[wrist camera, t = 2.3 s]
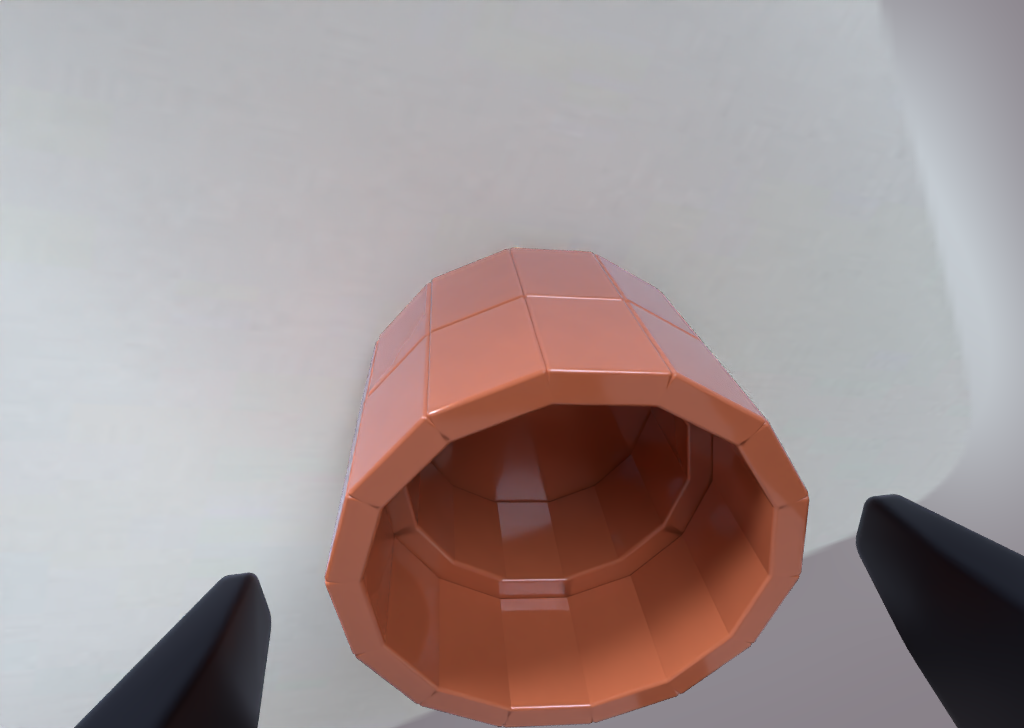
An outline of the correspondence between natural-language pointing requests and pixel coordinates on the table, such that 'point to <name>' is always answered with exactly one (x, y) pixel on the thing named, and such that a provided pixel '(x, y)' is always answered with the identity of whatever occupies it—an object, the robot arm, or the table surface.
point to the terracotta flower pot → (556, 498)
